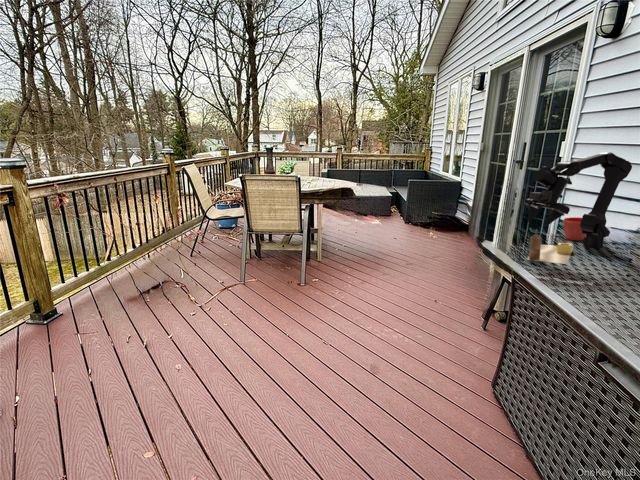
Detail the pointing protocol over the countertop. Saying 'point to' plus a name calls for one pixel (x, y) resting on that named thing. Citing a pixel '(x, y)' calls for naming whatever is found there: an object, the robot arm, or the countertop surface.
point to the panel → (552, 255)
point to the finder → (564, 248)
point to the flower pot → (573, 228)
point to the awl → (535, 247)
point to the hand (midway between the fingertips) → (536, 224)
